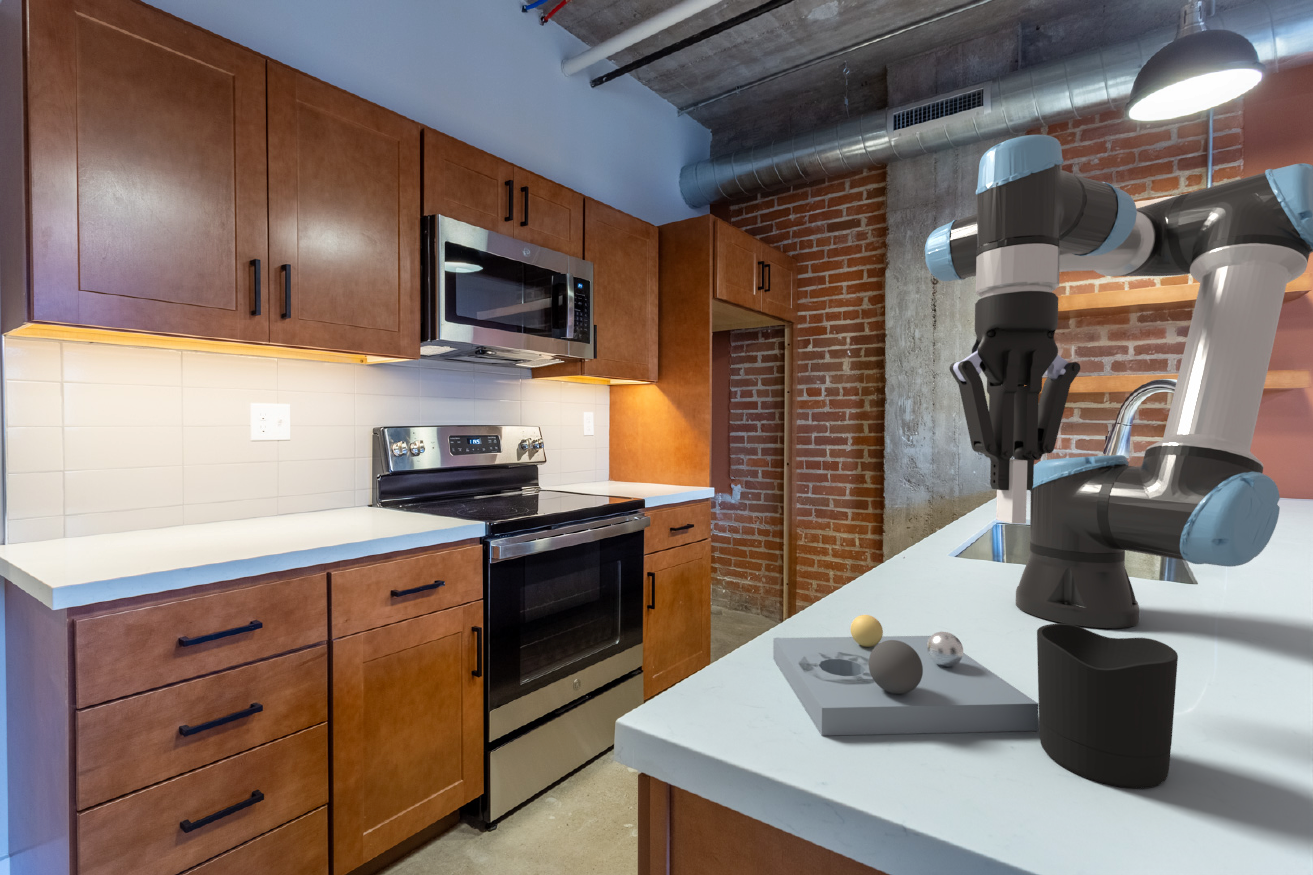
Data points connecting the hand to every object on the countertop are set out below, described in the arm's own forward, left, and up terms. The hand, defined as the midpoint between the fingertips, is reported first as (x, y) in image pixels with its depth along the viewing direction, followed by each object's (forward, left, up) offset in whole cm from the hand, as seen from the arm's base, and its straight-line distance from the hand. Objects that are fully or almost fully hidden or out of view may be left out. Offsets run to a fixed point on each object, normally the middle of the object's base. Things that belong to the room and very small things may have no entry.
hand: (1010, 521), depth 65 cm
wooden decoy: (+13, -6, -13) cm, 20 cm away
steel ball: (+7, 0, -13) cm, 15 cm away
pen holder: (+1, +14, -18) cm, 23 cm away
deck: (+13, 0, -18) cm, 22 cm away
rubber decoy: (+15, +6, -13) cm, 21 cm away
